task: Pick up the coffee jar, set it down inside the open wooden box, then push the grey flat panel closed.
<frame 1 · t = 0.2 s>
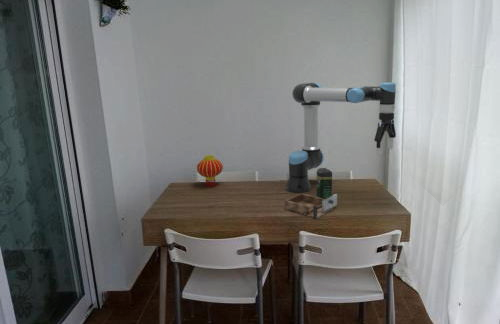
hand: (384, 151, 197), 28 cm above the table, fingers open, 13 cm apart
grey flat panel: (330, 202, 190), point 4 cm above the table, slide at 6.0 cm
coffee jar: (324, 200, 206), on the table
lantern: (211, 185, 243), on the table
open wooden box: (304, 208, 195), on the table
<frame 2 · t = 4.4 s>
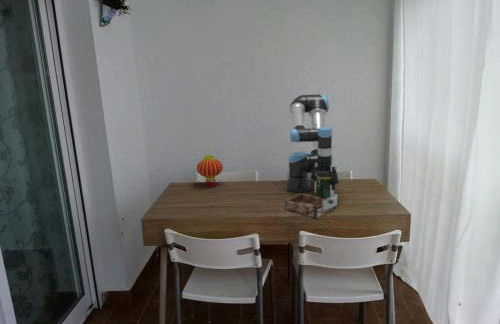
hand: (324, 193, 205), 4 cm above the table, fingers closed on coffee jar, 9 cm apart
coffee jar: (324, 200, 206), on the table, touching gripper
everything else where it was.
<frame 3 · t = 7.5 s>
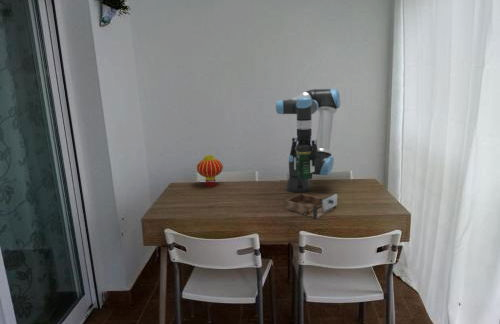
hand: (304, 170, 190), 21 cm above the table, fingers closed on coffee jar, 9 cm apart
coffee jar: (304, 178, 191), point 17 cm above the table, touching gripper
everything else where it was.
when the fingers open (6 cm above the table, at t = 10.7 s): coffee jar drops 1 cm, resting on open wooden box.
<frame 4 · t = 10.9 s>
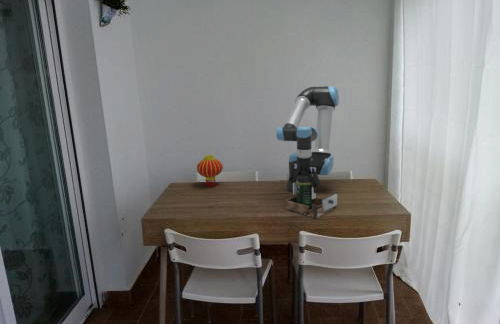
hand: (304, 196, 194), 7 cm above the table, fingers open, 11 cm apart
coffee jar: (304, 207, 195), point 1 cm above the table, touching open wooden box
everything else where it was.
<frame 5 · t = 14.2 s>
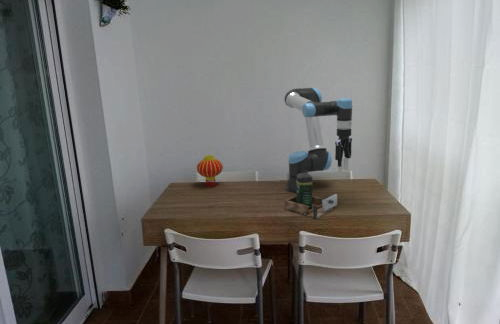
hand: (343, 170, 196), 19 cm above the table, fingers open, 5 cm apart
nothing on the table moved.
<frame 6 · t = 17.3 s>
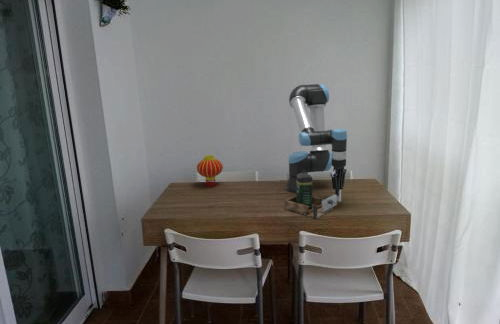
hand: (338, 200, 196), 3 cm above the table, fingers closed
grey flat panel: (330, 203, 190), point 4 cm above the table, slide at 5.6 cm, touching gripper
everything else where it was.
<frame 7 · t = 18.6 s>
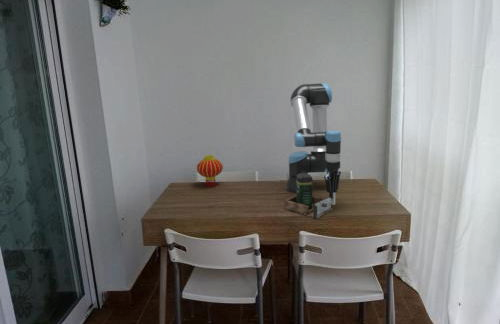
hand: (332, 203, 192), 3 cm above the table, fingers closed
grey flat panel: (324, 206, 186), point 4 cm above the table, slide at -0.3 cm, touching gripper, open wooden box
everything else where it was.
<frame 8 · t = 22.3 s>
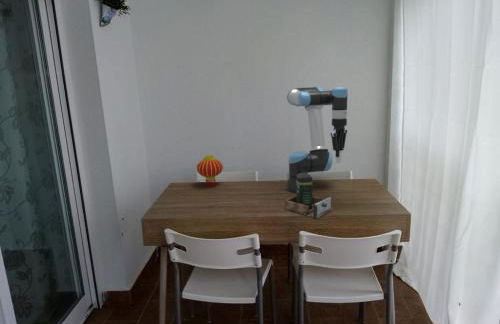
hand: (338, 162, 191), 24 cm above the table, fingers closed
grey flat panel: (324, 206, 186), point 4 cm above the table, slide at -0.3 cm, touching open wooden box
everything else where it was.
at the end: coffee jar inside the target area on the open wooden box (0.0 cm from its centre), point 0.6 cm above the open wooden box's base; coffee jar tilted 0°; grey flat panel slide at -0.3 cm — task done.
